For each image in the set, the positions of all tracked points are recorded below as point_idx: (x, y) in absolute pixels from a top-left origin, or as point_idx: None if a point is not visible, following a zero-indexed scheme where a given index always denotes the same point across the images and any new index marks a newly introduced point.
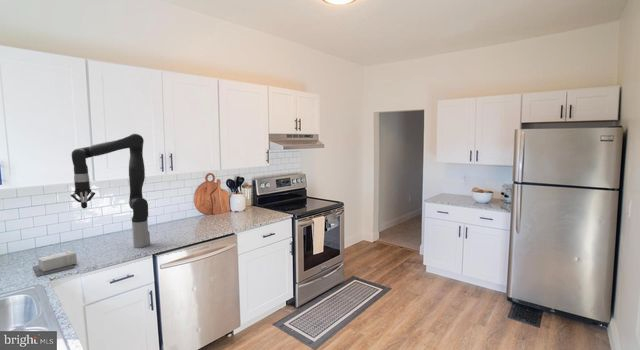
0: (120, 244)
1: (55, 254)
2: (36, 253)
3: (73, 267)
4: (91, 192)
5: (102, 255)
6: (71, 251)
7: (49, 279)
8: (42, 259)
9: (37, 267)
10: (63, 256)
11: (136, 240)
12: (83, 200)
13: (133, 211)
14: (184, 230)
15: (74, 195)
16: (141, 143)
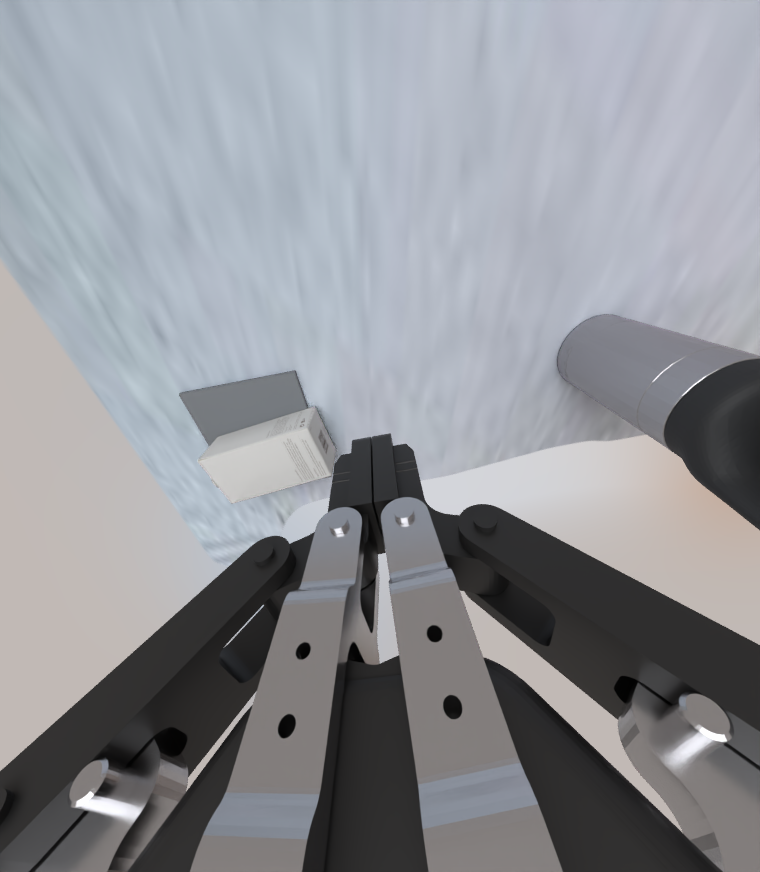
0: (531, 248)
1: (254, 452)
2: (56, 93)
3: (328, 476)
4: (731, 859)
5: (421, 394)
6: (310, 448)
7: (280, 521)
8: (224, 489)
9: (204, 417)
10: (291, 486)
11: (584, 391)
12: (377, 600)
13: (746, 518)
14: None
15: (133, 824)
16: None
